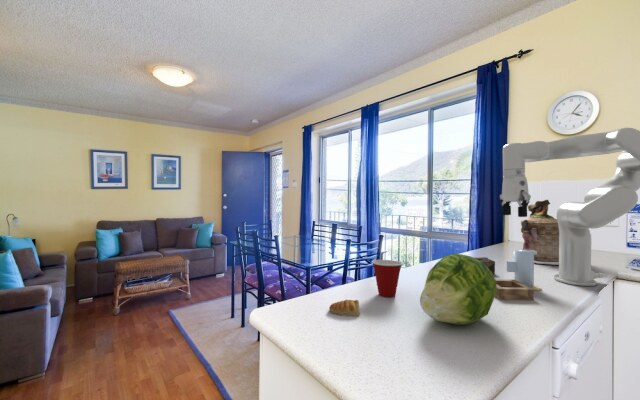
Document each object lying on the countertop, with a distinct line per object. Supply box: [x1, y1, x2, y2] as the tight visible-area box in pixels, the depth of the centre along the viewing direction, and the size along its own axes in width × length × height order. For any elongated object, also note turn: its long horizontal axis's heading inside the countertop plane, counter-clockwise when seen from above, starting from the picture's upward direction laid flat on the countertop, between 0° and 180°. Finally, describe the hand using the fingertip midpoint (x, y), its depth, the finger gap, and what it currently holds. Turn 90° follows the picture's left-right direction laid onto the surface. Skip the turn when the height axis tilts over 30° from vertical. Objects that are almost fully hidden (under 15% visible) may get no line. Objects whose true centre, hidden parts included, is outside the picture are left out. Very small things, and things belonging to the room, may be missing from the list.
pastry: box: [329, 299, 361, 317], centre depth 87 cm, size 9×7×4 cm
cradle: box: [494, 278, 535, 301], centre depth 101 cm, size 11×11×4 cm
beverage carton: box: [473, 256, 496, 275], centre depth 129 cm, size 8×19×7 cm, turn 89°
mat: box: [531, 284, 543, 291], centre depth 108 cm, size 8×8×1 cm
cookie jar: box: [512, 199, 559, 266], centre depth 149 cm, size 25×25×32 cm
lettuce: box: [419, 253, 497, 325], centre depth 81 cm, size 19×23×18 cm
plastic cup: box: [371, 259, 404, 298], centre depth 101 cm, size 11×11×12 cm
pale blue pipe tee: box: [506, 248, 537, 288], centre depth 108 cm, size 6×10×13 cm, turn 85°
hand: (514, 215), depth 117 cm, fingers open, 9 cm apart
